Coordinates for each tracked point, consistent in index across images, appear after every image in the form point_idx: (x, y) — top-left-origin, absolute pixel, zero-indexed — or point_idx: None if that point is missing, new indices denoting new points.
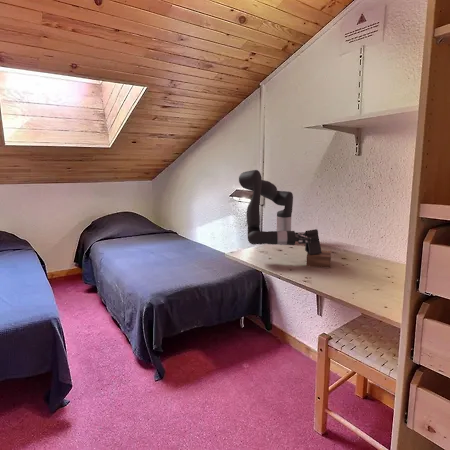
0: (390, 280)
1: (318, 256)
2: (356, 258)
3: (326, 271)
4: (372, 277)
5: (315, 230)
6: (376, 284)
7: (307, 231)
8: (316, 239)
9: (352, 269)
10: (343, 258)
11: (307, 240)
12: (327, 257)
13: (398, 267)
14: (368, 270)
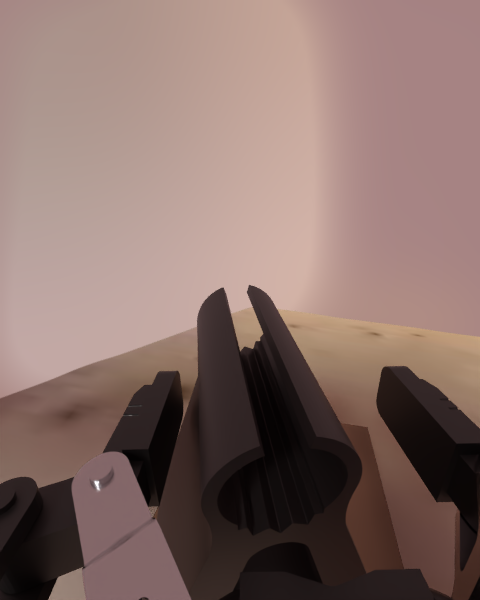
0: (402, 335)
1: (384, 519)
2: (192, 359)
3: (452, 525)
4: (404, 360)
5: (268, 304)
6: (476, 363)
7: (321, 410)
8: (440, 394)
9: (337, 391)
10: (182, 393)
11: (327, 560)
12: (371, 448)
13: (279, 311)
14: (329, 356)
